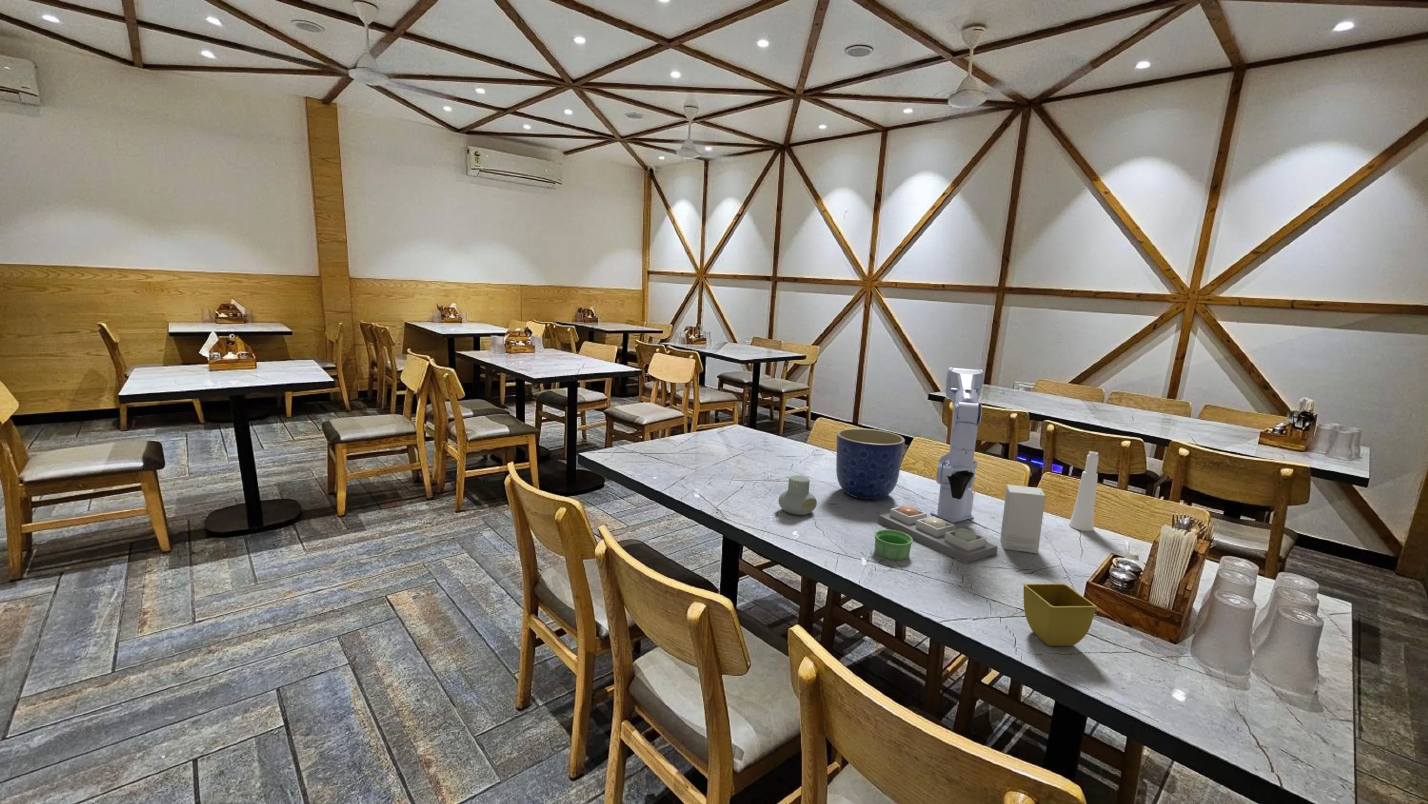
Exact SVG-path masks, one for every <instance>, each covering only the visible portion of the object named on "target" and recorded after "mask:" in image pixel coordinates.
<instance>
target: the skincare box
mask: <svg viewBox="0 0 1428 804" xmlns="http://www.w3.org/2000/svg"><path fill="white" fill-rule="evenodd" d="M1005 489H1006V490H1005V499H1004V505H1003V512H1002V513H1003V515H1002V520H1001V521H1002V522H1001V528H1000V537H999V539H1000V543H1001V546H1002V548H1003V550H1008V551H1010V550H1011V551H1018V552H1025V553H1031V554H1038V553H1039V549H1040V539H1041V534H1042V533H1041V531H1042V524H1043V518H1044V517H1043V516H1044V510H1045V509H1044V508H1045V504H1046V503H1045V502H1046V501H1045V500H1046V497H1047V495H1046V494H1045V493H1044V492H1043V490H1042V488H1041V487H1033V486H1032V487H1031V486H1026V485H1025V486H1023V485H1014V484H1006V488H1005Z"/></svg>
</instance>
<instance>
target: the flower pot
mask: <svg viewBox="0 0 1428 804" xmlns="http://www.w3.org/2000/svg"><path fill="white" fill-rule="evenodd" d="M1097 607H1098V606H1097V605H1096V604H1095V603H1093V602H1092V601H1090V600H1089V599H1088V598H1086V597H1084V596H1082V595H1081V594H1080V593H1079V592H1077V591H1076V590H1075V589H1073V588H1072V587H1071V586H1069V585H1068V584H1066V583H1024V584H1023V610H1024V611H1023V612H1024V616H1025V618H1026V621H1027V623H1028V625H1029V628H1030V630H1031V631H1032V633H1033V634H1035V635H1036V637H1038V638H1039V639H1040V640H1041V641H1042V642H1044V643H1045V644H1046V645H1047V646H1049V647H1064V646H1066V647H1068V646H1069V647H1073V646H1075V645H1076V644H1078V643H1080V642H1081V641H1082V640H1083V639H1084V638H1085V637H1086V636H1087V634H1088V632H1089V630H1090V627H1091V626H1092V622H1093V619H1094V618H1095V613H1096V610H1097Z"/></svg>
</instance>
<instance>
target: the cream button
mask: <svg viewBox="0 0 1428 804" xmlns="http://www.w3.org/2000/svg"><path fill="white" fill-rule="evenodd" d="M927 517H928V518H926V522H925V523H926V524H928V525H931V526H933V527H935V528H941V527H945V526H946V522H947V520H945V519H943V518H940V517H937V518H935V517H936V516H934V517H932V516H927Z"/></svg>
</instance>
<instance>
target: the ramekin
mask: <svg viewBox="0 0 1428 804" xmlns="http://www.w3.org/2000/svg"><path fill="white" fill-rule="evenodd" d="M874 539H875V540H874V542H875V543H874V551H875V553H876V554H877V555H878V556H880V557H883V558H885V559H888V560H892V561H901V560H906V559H907V558H908V557H909V556H910V553H911V547H912V545H913V542H914V539H913V538H912V537H911V536H909V535H908V534H906V533H903V532H900V531H896V530H894V529H880V530H877V531H876V532H875V533H874Z"/></svg>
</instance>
